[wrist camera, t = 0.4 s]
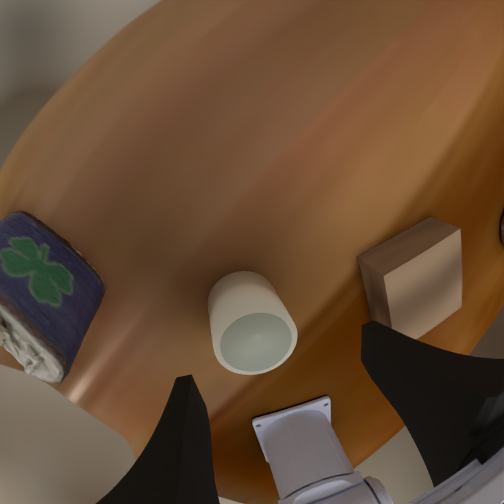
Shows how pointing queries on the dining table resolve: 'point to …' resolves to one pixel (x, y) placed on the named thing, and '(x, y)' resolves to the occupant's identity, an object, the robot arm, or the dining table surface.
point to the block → (414, 277)
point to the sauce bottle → (502, 229)
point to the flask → (44, 297)
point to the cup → (249, 324)
